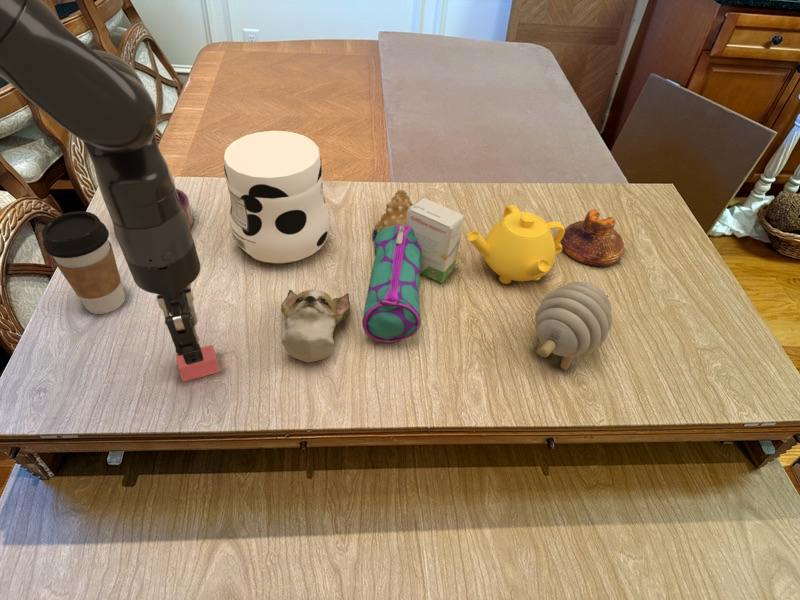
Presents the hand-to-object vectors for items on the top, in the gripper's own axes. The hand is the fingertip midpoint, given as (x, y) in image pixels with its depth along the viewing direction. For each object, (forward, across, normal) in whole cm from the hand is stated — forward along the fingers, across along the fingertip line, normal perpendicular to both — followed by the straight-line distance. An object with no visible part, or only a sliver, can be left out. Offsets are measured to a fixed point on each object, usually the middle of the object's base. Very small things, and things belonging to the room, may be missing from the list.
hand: (190, 337), depth 72 cm
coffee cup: (+7, -19, -12) cm, 24 cm away
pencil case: (+7, -4, +31) cm, 32 cm away
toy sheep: (+8, +14, +52) cm, 54 cm away
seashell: (+7, -22, +39) cm, 45 cm away
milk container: (+7, -25, +18) cm, 31 cm away
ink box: (+7, -10, +40) cm, 42 cm away
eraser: (+7, 0, 0) cm, 7 cm away
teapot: (+8, -4, +54) cm, 54 cm away
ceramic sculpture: (+7, -1, +17) cm, 18 cm away
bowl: (+7, -37, -3) cm, 38 cm away
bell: (+8, -5, +72) cm, 72 cm away
